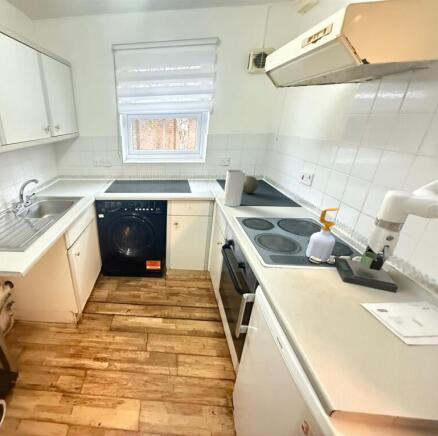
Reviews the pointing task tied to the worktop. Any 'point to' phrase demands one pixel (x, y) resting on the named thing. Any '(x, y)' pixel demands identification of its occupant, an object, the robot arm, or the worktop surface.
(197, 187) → the worktop surface
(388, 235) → the robot arm
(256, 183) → the cantaloupe
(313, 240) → the soap bottle
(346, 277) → the scale
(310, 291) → the worktop surface
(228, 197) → the cylinder vase
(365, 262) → the bowl
